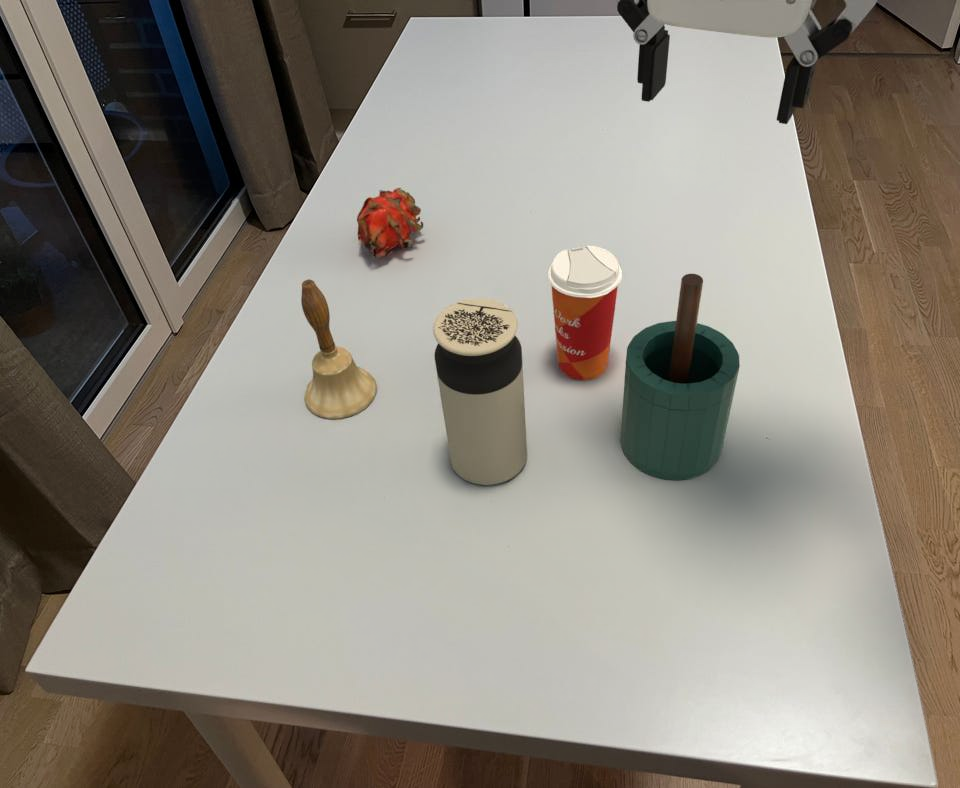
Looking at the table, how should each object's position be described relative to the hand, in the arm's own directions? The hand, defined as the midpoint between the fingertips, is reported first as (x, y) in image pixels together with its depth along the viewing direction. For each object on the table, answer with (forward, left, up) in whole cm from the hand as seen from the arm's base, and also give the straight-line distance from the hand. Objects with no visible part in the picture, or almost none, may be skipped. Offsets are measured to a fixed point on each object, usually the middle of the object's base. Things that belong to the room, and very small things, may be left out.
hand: (717, 104), depth 57 cm
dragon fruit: (+47, -18, -36) cm, 62 cm away
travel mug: (+16, +10, -36) cm, 41 cm away
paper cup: (+13, -7, -36) cm, 39 cm away
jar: (0, 0, -36) cm, 36 cm away
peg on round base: (0, 0, -36) cm, 36 cm away
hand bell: (+36, +9, -36) cm, 52 cm away
